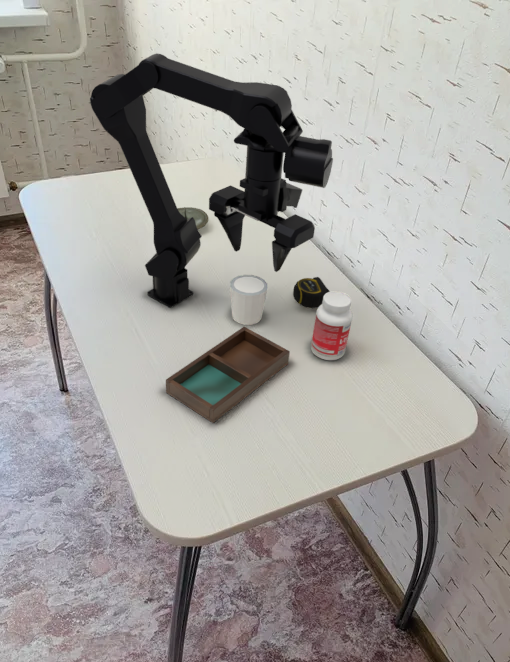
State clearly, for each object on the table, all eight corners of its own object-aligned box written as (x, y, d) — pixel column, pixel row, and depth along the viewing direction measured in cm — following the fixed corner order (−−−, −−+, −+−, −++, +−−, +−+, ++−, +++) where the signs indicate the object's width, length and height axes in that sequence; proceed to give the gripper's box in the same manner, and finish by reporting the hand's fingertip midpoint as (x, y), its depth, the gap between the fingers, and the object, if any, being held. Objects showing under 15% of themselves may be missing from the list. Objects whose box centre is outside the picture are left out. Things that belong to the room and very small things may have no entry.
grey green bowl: (215, 232, 142) (218, 210, 140) (190, 238, 134) (193, 215, 132) (178, 220, 146) (181, 198, 144) (152, 225, 138) (154, 203, 136)
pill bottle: (341, 365, 107) (352, 312, 100) (306, 356, 108) (315, 304, 101) (347, 344, 112) (358, 293, 104) (314, 336, 113) (323, 285, 105)
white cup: (252, 331, 113) (255, 299, 108) (221, 318, 115) (222, 286, 110) (271, 313, 117) (275, 282, 112) (241, 301, 120) (243, 269, 115)
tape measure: (332, 309, 120) (335, 293, 117) (299, 314, 118) (302, 297, 115) (319, 290, 124) (321, 274, 122) (287, 294, 122) (289, 278, 120)
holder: (165, 392, 99) (165, 379, 97) (243, 338, 111) (244, 326, 109) (213, 423, 95) (213, 410, 93) (288, 363, 106) (289, 351, 105)
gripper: (340, 179, 98) (326, 264, 109) (252, 144, 107) (247, 226, 117) (298, 200, 92) (287, 288, 102) (207, 160, 100) (206, 246, 111)
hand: (256, 260), depth 108 cm, fingers open, 9 cm apart
